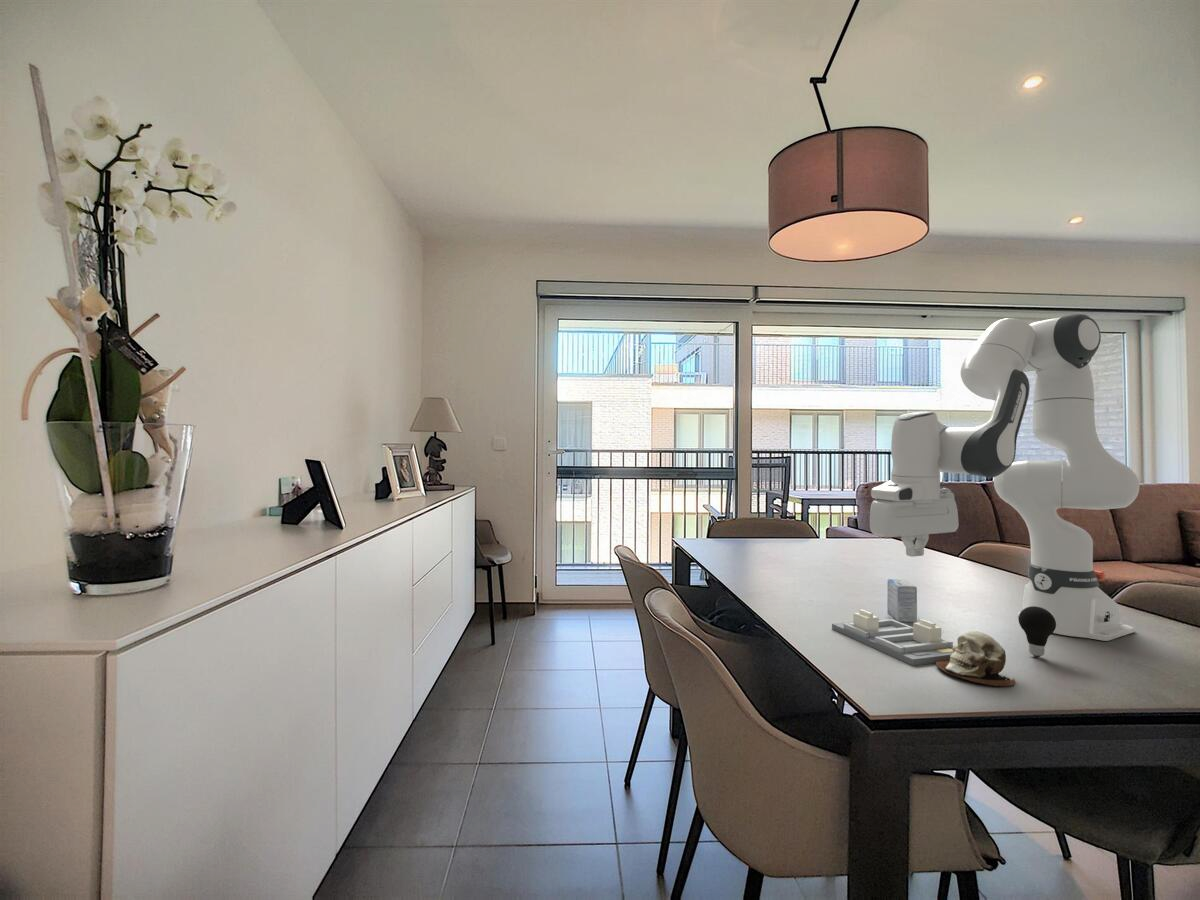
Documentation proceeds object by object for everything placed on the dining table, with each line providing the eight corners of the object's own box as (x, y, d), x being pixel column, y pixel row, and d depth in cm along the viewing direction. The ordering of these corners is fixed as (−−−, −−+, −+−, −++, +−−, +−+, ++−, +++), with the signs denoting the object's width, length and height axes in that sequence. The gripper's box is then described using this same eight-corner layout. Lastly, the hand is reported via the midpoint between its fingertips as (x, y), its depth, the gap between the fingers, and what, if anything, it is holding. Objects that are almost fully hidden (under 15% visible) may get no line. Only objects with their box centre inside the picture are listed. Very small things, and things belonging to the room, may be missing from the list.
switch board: (831, 629, 125) (832, 619, 125) (881, 624, 129) (881, 614, 129) (912, 665, 104) (912, 654, 104) (968, 658, 108) (969, 647, 108)
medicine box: (917, 623, 130) (917, 586, 130) (897, 622, 131) (897, 585, 131) (905, 613, 138) (906, 579, 138) (886, 612, 139) (887, 578, 139)
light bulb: (1046, 664, 105) (1047, 612, 105) (1011, 654, 110) (1012, 604, 110) (1061, 659, 108) (1062, 609, 108) (1027, 650, 113) (1027, 601, 113)
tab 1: (864, 627, 122) (864, 608, 122) (878, 633, 118) (878, 613, 118) (853, 628, 121) (853, 609, 121) (867, 634, 117) (867, 614, 117)
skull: (976, 686, 93) (944, 628, 100) (942, 706, 100) (915, 651, 107) (1038, 681, 94) (1003, 624, 101) (1001, 701, 102) (971, 647, 109)
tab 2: (924, 638, 116) (924, 617, 116) (941, 644, 112) (941, 623, 112) (913, 639, 115) (913, 619, 115) (929, 646, 111) (929, 624, 111)
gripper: (940, 486, 120) (939, 549, 121) (864, 490, 114) (864, 556, 115) (967, 489, 114) (966, 555, 115) (888, 493, 108) (888, 562, 109)
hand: (914, 555), depth 115 cm, fingers closed
